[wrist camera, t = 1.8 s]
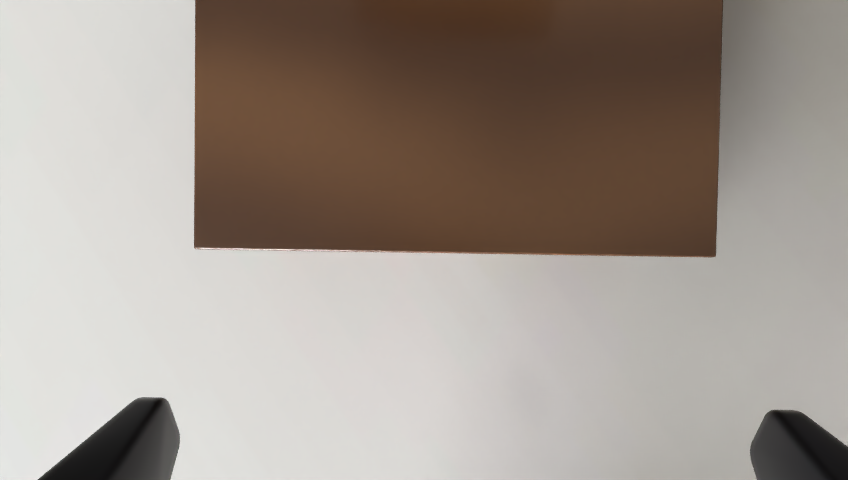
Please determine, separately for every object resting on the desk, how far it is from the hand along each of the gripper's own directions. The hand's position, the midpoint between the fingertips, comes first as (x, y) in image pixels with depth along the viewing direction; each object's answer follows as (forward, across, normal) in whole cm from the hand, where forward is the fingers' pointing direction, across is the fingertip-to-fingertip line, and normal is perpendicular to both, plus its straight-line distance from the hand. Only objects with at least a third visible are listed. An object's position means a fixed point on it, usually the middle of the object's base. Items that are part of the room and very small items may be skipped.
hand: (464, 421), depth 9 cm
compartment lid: (+9, 0, -3) cm, 10 cm away
